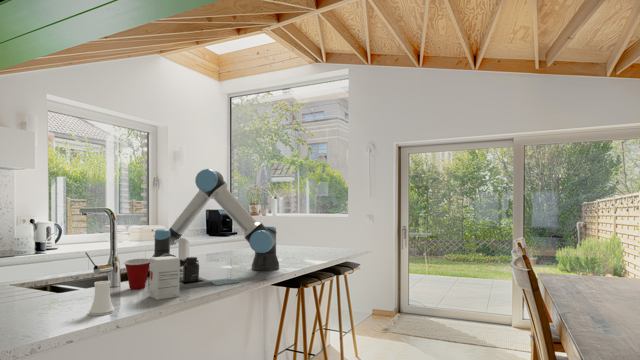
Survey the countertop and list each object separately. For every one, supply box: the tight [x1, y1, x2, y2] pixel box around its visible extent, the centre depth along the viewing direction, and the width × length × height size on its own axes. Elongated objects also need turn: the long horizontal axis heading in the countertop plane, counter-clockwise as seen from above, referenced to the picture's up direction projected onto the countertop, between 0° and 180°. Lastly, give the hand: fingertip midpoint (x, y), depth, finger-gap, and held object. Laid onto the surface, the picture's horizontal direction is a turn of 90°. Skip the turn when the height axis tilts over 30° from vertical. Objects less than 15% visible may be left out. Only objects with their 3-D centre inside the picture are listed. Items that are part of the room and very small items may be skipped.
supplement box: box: [148, 255, 181, 301], centre depth 160 cm, size 9×9×15 cm
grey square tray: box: [179, 276, 213, 290], centre depth 182 cm, size 14×14×2 cm
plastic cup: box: [123, 258, 150, 291], centre depth 174 cm, size 11×11×12 cm
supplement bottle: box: [182, 256, 200, 284], centre depth 183 cm, size 7×7×12 cm
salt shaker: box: [88, 280, 115, 316], centre depth 136 cm, size 8×8×10 cm
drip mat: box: [208, 277, 240, 287], centre depth 187 cm, size 11×11×1 cm
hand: (183, 266), depth 189 cm, fingers open, 13 cm apart
